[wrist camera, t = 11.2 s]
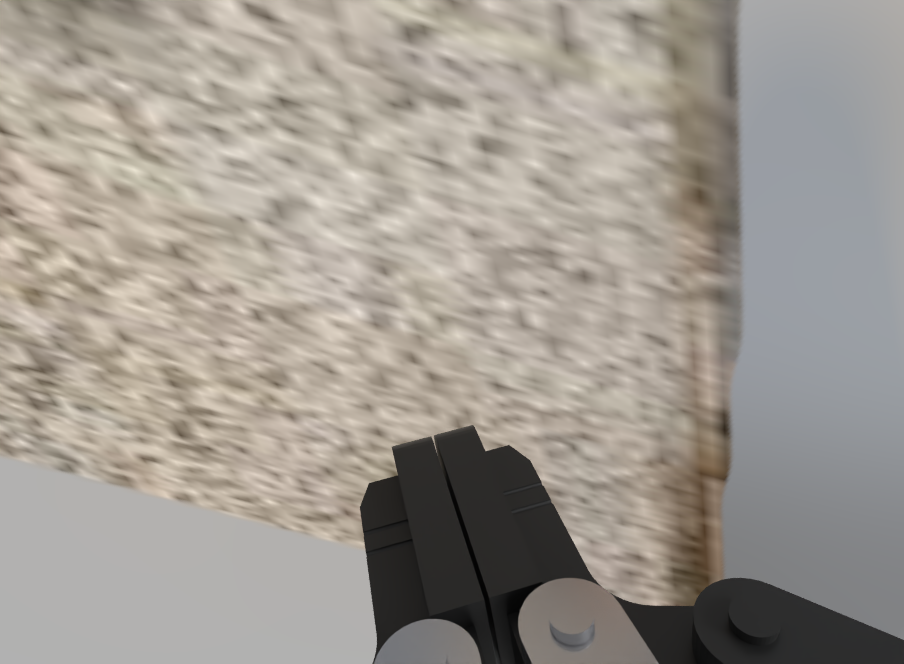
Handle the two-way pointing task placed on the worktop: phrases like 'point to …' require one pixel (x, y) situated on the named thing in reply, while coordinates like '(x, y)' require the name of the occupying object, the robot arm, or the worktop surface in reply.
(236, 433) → the worktop surface
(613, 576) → the worktop surface
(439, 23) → the worktop surface
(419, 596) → the robot arm
